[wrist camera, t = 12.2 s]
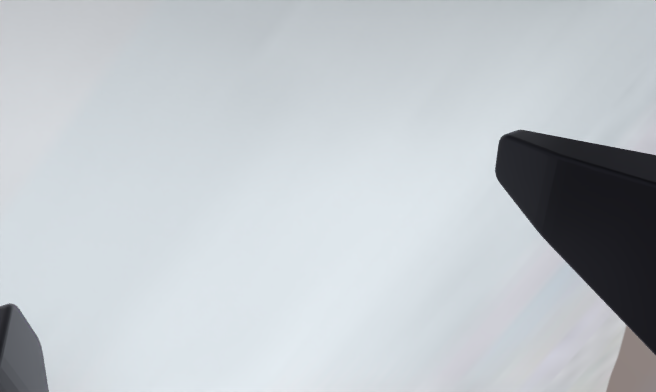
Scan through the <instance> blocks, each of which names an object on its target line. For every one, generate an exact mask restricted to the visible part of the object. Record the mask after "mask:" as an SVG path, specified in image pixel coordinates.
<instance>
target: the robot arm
mask: <svg viewBox="0 0 656 392" xmlns="http://www.w3.org/2000/svg"><path fill="white" fill-rule="evenodd" d="M495 173H496V177H497V179H498V181H499V182H500V184H501V185H502V186H503V188H504V189H505V190H506V191H507V193H508V194H509V195H510V197H511V198H512V199H513V200H514V202H515V203H516V204H517V205H518V207H519V208H520V209H521V211H522V212H523V213H524V214H525V216H526V217H527V218H528V220H529V221H530V222H531V223H532V225H533V226H534V227H535V228H536V230H537V231H538V232H539V233H540V235H541V236H542V237H543V238H544V239H545V240H546V241H547V242H548V243H549V244H550V245H551V247H552V248H553V249H554V250H555V251H556V252H557V253H558V254H559V255H560V256H561V257H562V258H563V259H564V260H565V261H566V262H567V263H568V264H569V265H570V266H571V267H572V268H573V269H574V271H575V272H576V273H577V274H578V275H579V276H580V277H581V278H582V279H583V280H584V281H585V282H586V283H587V284H588V285H589V286H590V287H591V288H592V289H593V290H594V291H595V292H596V294H597V295H598V296H599V297H600V298H601V299H602V300H603V301H604V302H605V303H606V304H607V305H608V306H609V307H610V308H611V309H612V310H613V311H614V312H615V313H616V314H617V315H618V316H619V318H620V319H621V320H622V321H623V322H624V323H625V324H626V325H627V326H628V327H629V328H630V329H631V330H632V331H633V332H634V333H635V334H636V335H637V336H638V337H639V338H640V339H641V340H642V342H644V343H645V345H646V346H647V347H648V348H649V349H650V350H651V351H652V352H653V353H654V354H655V355H656V155H651V154H646V153H641V152H636V151H630V150H625V149H620V148H615V147H609V146H604V145H599V144H594V143H588V142H583V141H578V140H573V139H567V138H562V137H557V136H552V135H546V134H541V133H536V132H531V131H525V130H517V131H514V132H511V133H508V134H505V135H503V136H502V137H501V139H500V140H499V145H498V152H497V160H496V167H495ZM0 392H49V390H48V384H47V377H46V371H45V364H44V358H43V352H42V347H41V344H40V341H39V339H38V337H37V335H36V334H35V332H34V331H33V329H32V328H31V326H30V325H29V323H28V322H27V320H26V319H25V317H24V316H23V314H22V312H21V311H20V309H19V308H18V307H17V306H16V305H14V304H6V305H3V306H0Z"/></svg>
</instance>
